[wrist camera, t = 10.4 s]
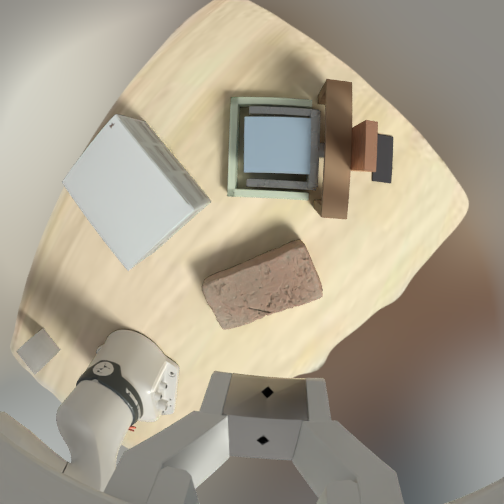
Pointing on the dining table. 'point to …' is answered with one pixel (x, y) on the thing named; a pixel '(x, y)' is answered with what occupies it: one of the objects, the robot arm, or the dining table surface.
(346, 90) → the tunnel
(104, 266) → the dining table surface
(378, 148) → the dark grey flat block
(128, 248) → the supplement box
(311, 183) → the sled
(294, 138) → the block
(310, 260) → the brick
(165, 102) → the dining table surface
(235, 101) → the green hollow frame
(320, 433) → the robot arm
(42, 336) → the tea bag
